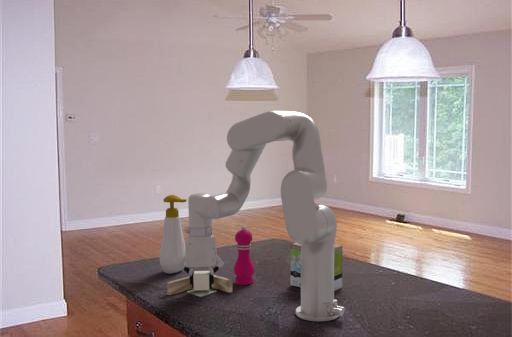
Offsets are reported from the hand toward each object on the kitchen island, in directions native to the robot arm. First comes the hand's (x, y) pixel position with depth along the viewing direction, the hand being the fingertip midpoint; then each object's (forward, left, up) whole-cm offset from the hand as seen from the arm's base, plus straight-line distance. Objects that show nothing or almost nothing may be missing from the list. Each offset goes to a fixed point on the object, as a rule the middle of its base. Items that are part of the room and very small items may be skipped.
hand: (201, 285), depth 177 cm
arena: (-1, +1, -2) cm, 3 cm away
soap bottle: (+26, -10, -2) cm, 28 cm away
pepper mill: (-3, -17, -2) cm, 17 cm away
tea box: (-25, -29, -2) cm, 38 cm away
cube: (0, 0, -1) cm, 1 cm away
